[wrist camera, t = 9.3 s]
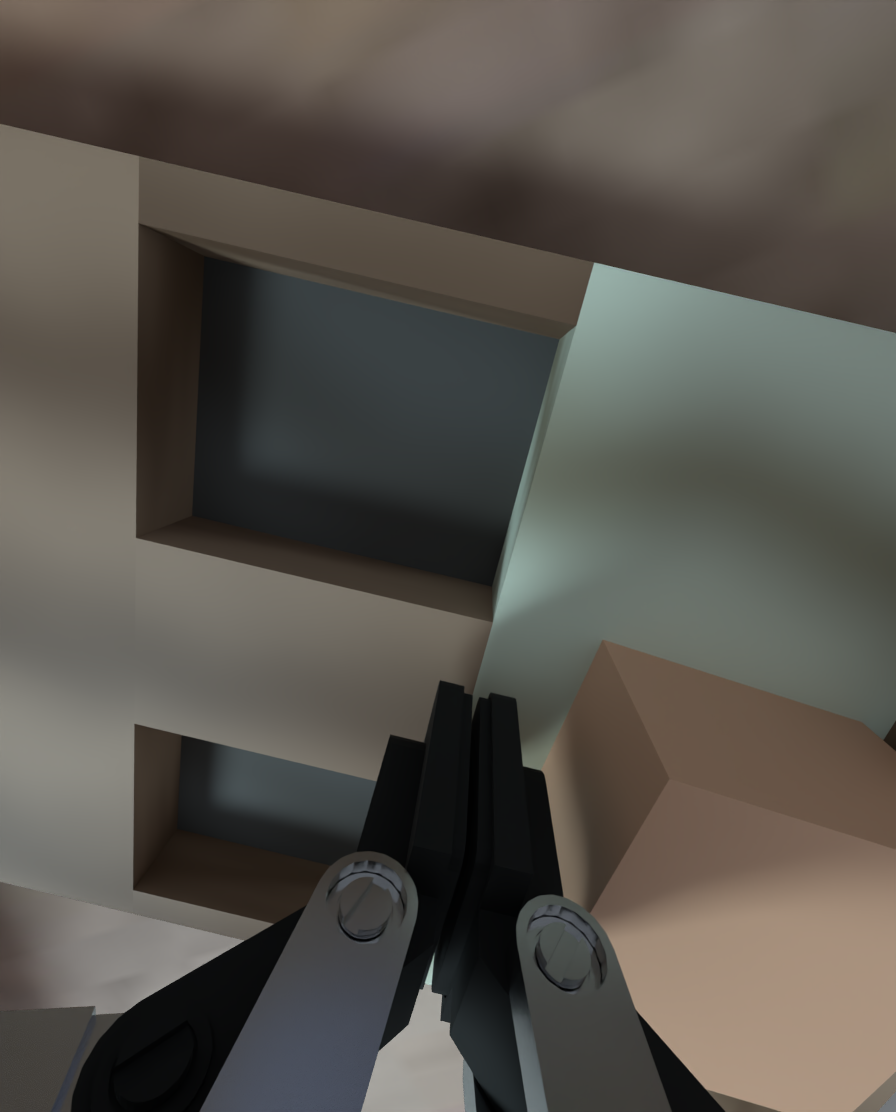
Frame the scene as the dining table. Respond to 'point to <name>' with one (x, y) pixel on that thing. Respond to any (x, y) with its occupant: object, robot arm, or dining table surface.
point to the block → (736, 875)
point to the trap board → (379, 514)
